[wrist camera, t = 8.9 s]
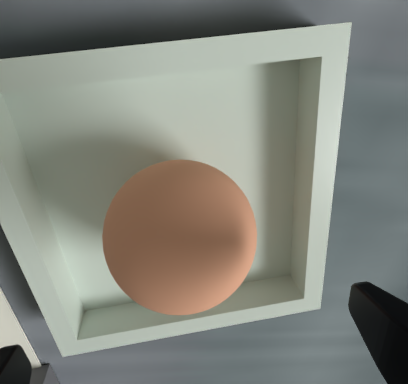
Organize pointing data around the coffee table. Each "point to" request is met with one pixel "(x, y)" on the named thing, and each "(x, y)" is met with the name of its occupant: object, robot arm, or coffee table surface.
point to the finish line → (22, 343)
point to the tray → (164, 151)
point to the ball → (179, 237)
